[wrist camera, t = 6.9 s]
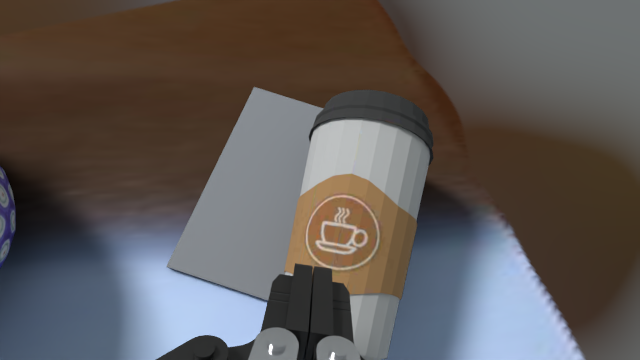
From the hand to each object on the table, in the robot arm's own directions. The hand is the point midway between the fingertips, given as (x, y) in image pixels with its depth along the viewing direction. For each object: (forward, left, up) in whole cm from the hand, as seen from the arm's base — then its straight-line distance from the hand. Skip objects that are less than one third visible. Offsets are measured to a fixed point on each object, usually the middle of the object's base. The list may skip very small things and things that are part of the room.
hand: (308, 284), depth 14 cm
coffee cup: (-2, -2, -7) cm, 8 cm away
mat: (+8, +2, -11) cm, 14 cm away
